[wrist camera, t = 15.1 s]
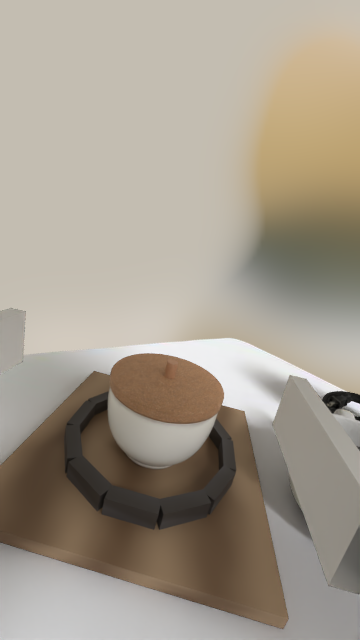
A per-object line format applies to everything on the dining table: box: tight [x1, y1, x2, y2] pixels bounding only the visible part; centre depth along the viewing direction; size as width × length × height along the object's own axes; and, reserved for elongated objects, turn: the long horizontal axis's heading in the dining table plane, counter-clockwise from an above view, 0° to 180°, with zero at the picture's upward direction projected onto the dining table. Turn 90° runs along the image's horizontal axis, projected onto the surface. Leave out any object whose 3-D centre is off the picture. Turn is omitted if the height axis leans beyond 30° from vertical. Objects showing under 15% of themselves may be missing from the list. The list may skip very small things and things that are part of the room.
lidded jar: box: [107, 353, 224, 469], centre depth 26 cm, size 11×11×9 cm
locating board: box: [0, 371, 289, 629], centre depth 27 cm, size 22×22×2 cm
